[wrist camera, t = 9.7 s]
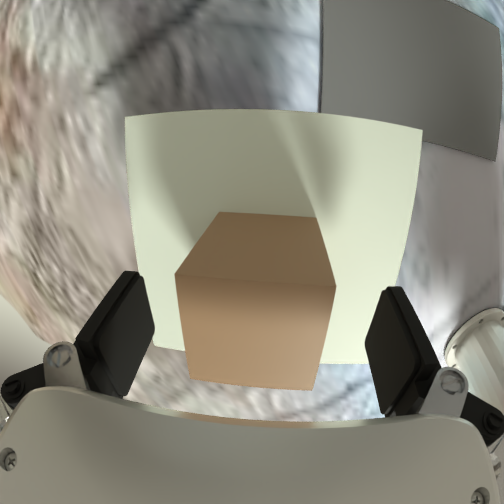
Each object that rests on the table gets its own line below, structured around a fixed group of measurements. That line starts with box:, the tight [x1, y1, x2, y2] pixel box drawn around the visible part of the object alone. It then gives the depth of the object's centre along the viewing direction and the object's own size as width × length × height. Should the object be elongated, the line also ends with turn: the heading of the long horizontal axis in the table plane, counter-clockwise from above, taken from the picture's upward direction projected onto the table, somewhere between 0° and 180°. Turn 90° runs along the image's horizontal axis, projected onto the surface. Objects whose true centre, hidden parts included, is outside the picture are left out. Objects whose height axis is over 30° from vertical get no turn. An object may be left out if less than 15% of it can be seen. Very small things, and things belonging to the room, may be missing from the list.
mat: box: [320, 0, 502, 161], centre depth 18 cm, size 20×16×1 cm
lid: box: [125, 109, 423, 390], centre depth 12 cm, size 14×14×7 cm
